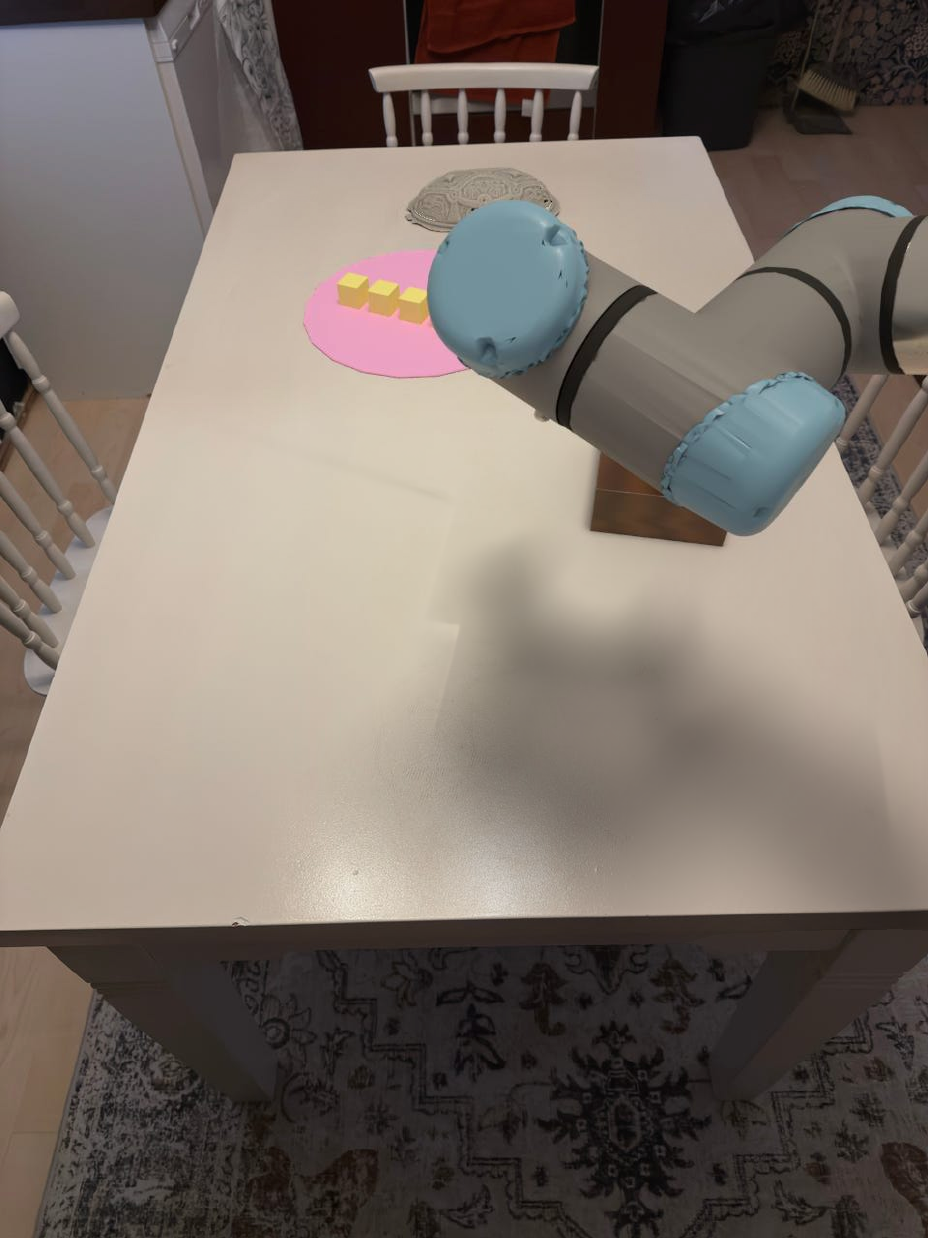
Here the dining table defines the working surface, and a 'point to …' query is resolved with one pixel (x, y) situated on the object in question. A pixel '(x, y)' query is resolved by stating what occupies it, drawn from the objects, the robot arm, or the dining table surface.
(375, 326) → the platter
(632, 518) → the riser
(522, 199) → the grey domed piece
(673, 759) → the dining table surface
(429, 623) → the dining table surface
